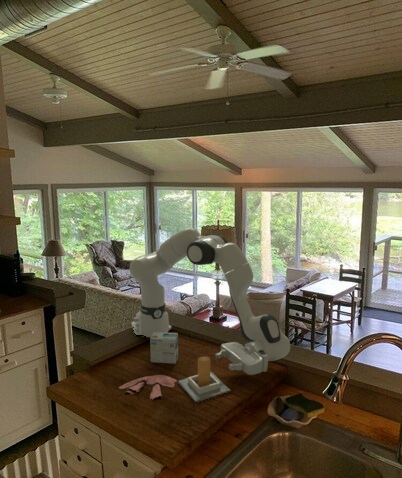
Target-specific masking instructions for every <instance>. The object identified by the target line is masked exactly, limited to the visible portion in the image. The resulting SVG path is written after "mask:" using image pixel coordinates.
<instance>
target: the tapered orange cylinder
mask: <svg viewBox="0 0 402 478" xmlns="http://www.w3.org/2000/svg"><path fill="white" fill-rule="evenodd" d="M210 372H211V358H210V357H209V356H201V357H198V358H197V375H198V386H199V387H203V386H207V385H210Z"/></svg>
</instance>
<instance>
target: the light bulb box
mask: <svg viewBox="0 0 402 478" xmlns="http://www.w3.org/2000/svg"><path fill="white" fill-rule="evenodd" d="M149 341H150V342H149V344H150V345H149V347H150V349H149V350H150V352H149V353H150V363H157V364H158V363H160V364H173V365H174V364H176V363H177V361H178V358H179V334H178V332H168V333H162V332H154V333H153V334H152V336H151V337H149Z"/></svg>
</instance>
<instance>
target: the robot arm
mask: <svg viewBox="0 0 402 478" xmlns="http://www.w3.org/2000/svg"><path fill="white" fill-rule="evenodd" d="M186 257H187V259H188V261H189V262H191V264H193V265H197V266H205V265H212V264H213V263H216V264H217V265H219V267H220V269H221V270H222V273H223V275H224V278H225V280H226V283H227V285H228V291H229V296H230V299H231V302H232V305H233V307H234V310H235V312H236V315H237V317H238V321H239V327H240V332H241V335H242V338H244V339H245V341H247V343H245V344H244V345H243V344H241V343H239V342H237V341H232V342H231V341H230V342H226V343H222V344H221V345H220V351H219V352H216V353H215V358H216V359H217V360H220V359H222V357H225V358H227V359H228V360H229V361H231V362H232V363H229V364H228V369H229V371H243V372H244V373H245V374H246V375H248V376H255V375H257V374H261V373H262V372H263V373H265V372H267V371H268V365H269V364H268V363H269V362H273V361H277V360H280V359H282V358H284V357H286V356H287V355H288V354H289V352H290V351H291V342H290V340H289V338H288V337H287V336H286V335H285V334H284V333H283V332H282V329H281V328H280V324H279V321H278V319H277V318H276V317H275V316H274V315H272V314H271V313H265V314H261V315H258V316H255V315H254V314H253V312H252V311H253V310H252V309H251V306H250V304H249V302H248V297H247V294H248V293H247V292H248V290H249V288H250V287H251V285H252V283H253V281H254V273H253V270H252V267H251V265H250V263H249V261H248V259H247V258H246V255H244V253H243V251H242V250H241V248H240V247H239V246H238V244H237V243H235V242H228V240H227V238H226V237H225V236H223V235H220V234H209V233H207V234H205V235H201V234H200V232H199V231H198V230H197V229H196V228H194V227H186V228H184V229H182V230H179V231H178V232H176V233H175V234H173V235H172V236H171V237H169V238H167V240H165V241H163V242H162V243H161V244H160V246H159V248H158V249H156V251H153V252H150V253H147V254H144V255H139V256H138V257H136V258H135V259H133V260H132V261H130V264H129V269H128V270H129V273H130V275H131V277H132V278H133V279H134V280H136V281H137V283H138V285H139V287H140V295H141V297H140V298H141V302H140V306H139V311H138V312H137V313H136V314H135V317H133V321H131V327H132V331H133V330H134V331H133V334H134V333H135V334H136V335H144V336H146V338H151V336H152V334H153V333H154V332H162V333H169V331H170V330H171V329H172V325H170V322H169V321H170V320H169V313H168V312H167V311H166V309H167V305H166V302H165V296H166V295H165V287H164V285H162V284H161V283H159V279H158V277H159V276H160V275H163V274H166V273H167V272H168V271H170V270H172V269H173V267H174V266H175V265H176V264H178V263H179V262H180V261H182V260H183V259H184V258H186ZM133 327H134V328H133ZM135 334H134V335H135ZM136 335H135V336H136ZM144 336H143V337H144Z"/></svg>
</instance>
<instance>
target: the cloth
mask: <svg viewBox="0 0 402 478" xmlns="http://www.w3.org/2000/svg"><path fill="white" fill-rule="evenodd" d="M175 383H178V381H177V379H175V378H173V377H171V376H169V375H168V376H167V375H165V374H158V375H157V374H156V375H155V374H154V375H149V376H142V377H139V378H137V379H133V380H131V381H128V382H126V383H124V384H123V385H120V386H119V387H118V389H121V390H123V389H124V390H125V389H126V391H124V392H123V395H125V394H127V393H129V394H131V395H137V394H138V393H139V392H140V391H141V390H142V388H143V387H145V384H146V385H153V387H152V389H151V392H150V394H149V400H151V399H152V400H154V399H155V398H156V397H159V396H161V398H160V399H162V398H163V395H162V390H161V387H167V388H174V387H175V385H176V384H175ZM156 399H157V398H156Z"/></svg>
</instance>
